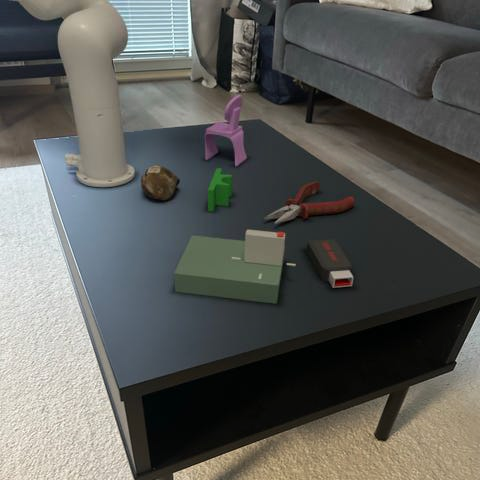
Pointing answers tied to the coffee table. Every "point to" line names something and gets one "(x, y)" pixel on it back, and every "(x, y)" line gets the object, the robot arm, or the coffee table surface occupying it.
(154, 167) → the brown rock
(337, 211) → the pliers
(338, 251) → the usb drive
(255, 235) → the square jaw plate
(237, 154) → the toy chair
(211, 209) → the pipe clamp
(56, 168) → the coffee table surface
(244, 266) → the green rectangular block
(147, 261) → the coffee table surface
